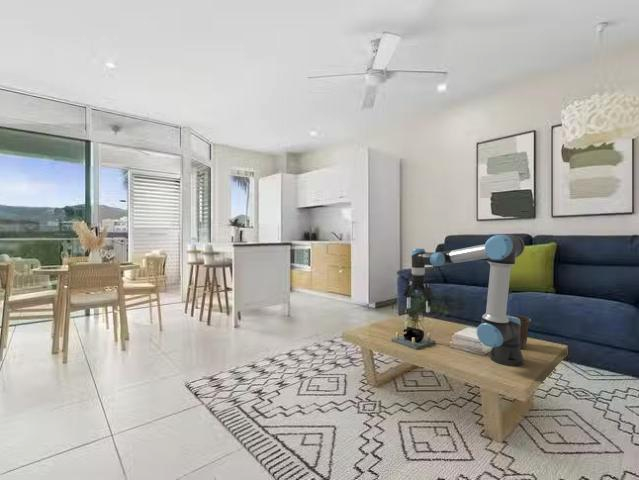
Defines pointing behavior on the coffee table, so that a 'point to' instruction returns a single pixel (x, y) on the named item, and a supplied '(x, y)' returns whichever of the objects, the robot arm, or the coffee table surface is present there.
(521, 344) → the plant pot
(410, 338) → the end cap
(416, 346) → the standoff plate
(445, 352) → the coffee table surface
